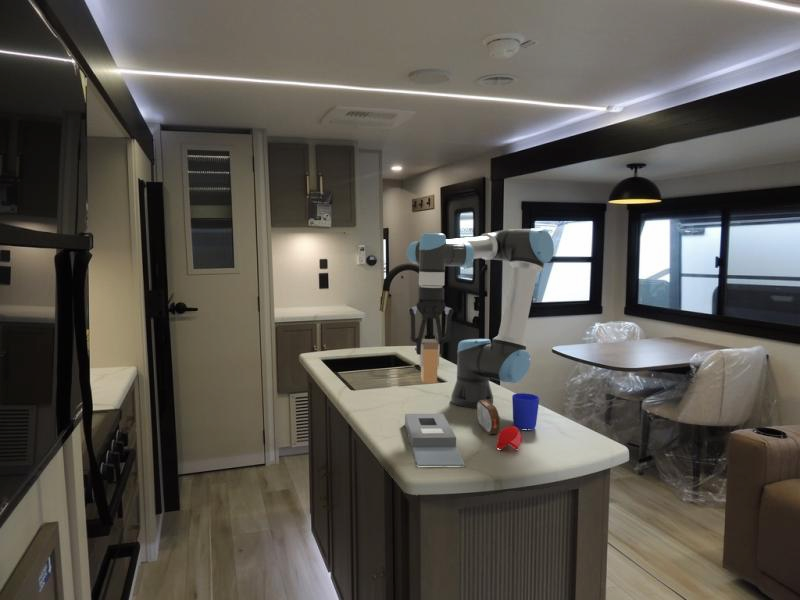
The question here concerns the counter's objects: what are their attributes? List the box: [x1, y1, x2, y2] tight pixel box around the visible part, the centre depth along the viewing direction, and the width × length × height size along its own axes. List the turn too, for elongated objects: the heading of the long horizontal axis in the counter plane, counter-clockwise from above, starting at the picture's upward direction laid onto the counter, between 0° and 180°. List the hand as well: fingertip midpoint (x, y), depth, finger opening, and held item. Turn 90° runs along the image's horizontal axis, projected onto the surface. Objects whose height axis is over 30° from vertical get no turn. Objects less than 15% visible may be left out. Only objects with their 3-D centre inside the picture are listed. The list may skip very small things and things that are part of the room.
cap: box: [495, 425, 523, 451], centre depth 151 cm, size 8×6×6 cm
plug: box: [420, 338, 439, 384], centre depth 160 cm, size 4×6×12 cm, turn 5°
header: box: [404, 413, 457, 451], centre depth 159 cm, size 12×22×4 cm, turn 5°
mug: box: [511, 392, 540, 431], centre depth 170 cm, size 8×12×10 cm
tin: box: [476, 399, 501, 435], centre depth 166 cm, size 15×3×8 cm, turn 9°
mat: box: [412, 446, 466, 467], centre depth 142 cm, size 12×12×1 cm
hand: (429, 365), depth 160 cm, fingers closed on plug, 4 cm apart
